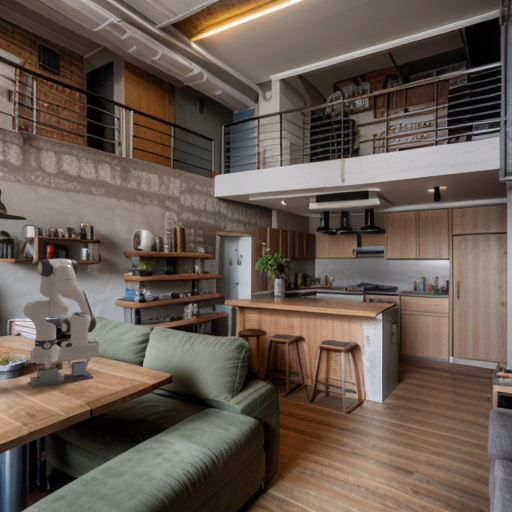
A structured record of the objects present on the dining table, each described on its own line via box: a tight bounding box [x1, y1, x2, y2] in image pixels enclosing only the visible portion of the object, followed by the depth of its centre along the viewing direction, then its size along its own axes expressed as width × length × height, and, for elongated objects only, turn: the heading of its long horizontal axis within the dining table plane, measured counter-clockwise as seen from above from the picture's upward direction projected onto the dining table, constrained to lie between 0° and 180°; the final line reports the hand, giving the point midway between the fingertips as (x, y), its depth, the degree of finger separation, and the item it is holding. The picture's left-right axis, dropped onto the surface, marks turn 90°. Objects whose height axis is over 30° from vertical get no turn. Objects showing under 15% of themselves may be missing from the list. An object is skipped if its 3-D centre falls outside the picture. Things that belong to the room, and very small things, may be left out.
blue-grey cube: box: [71, 360, 87, 376], centre depth 194 cm, size 6×6×6 cm
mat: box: [63, 370, 94, 383], centre depth 194 cm, size 14×12×1 cm
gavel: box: [42, 360, 64, 370], centre depth 202 cm, size 21×5×10 cm
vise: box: [29, 356, 66, 389], centre depth 185 cm, size 13×14×14 cm
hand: (78, 367), depth 194 cm, fingers closed on blue-grey cube, 6 cm apart
